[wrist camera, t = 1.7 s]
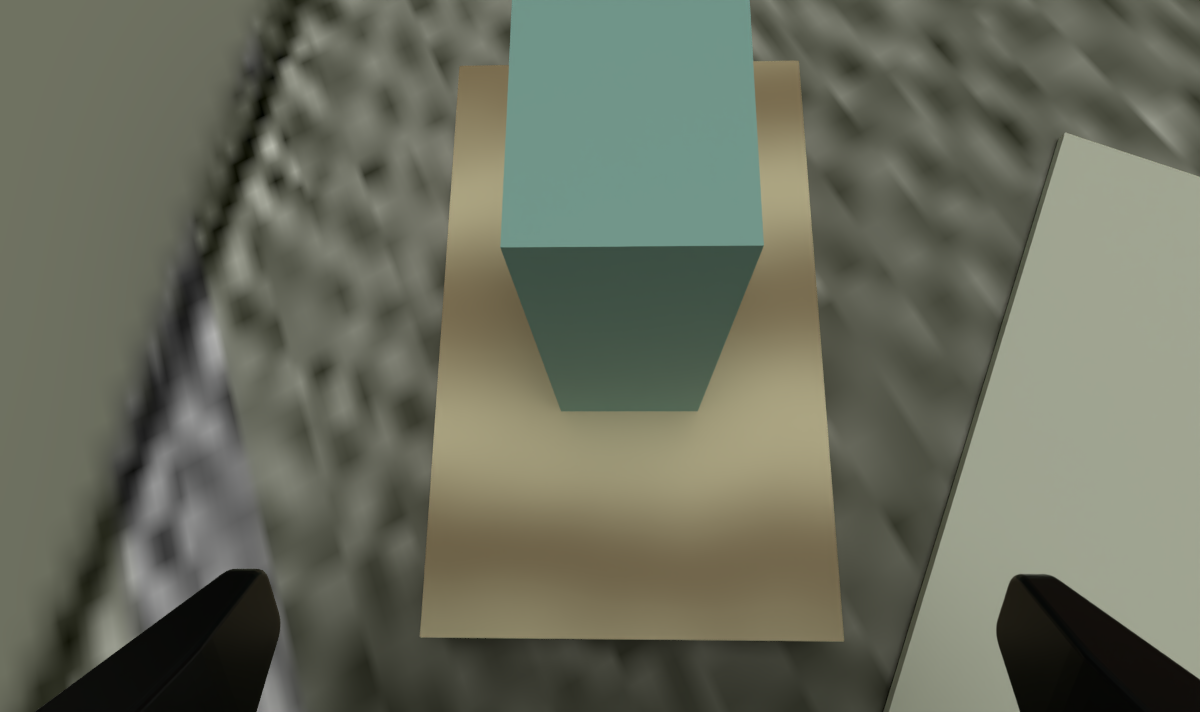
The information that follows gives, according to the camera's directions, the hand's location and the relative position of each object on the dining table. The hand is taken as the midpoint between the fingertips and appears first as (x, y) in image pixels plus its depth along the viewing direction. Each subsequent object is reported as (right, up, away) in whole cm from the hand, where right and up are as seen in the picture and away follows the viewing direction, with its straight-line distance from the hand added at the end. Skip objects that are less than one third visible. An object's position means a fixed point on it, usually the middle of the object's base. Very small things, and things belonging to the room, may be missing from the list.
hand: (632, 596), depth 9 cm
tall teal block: (0, +4, +11) cm, 12 cm away
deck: (0, +3, +14) cm, 14 cm away
